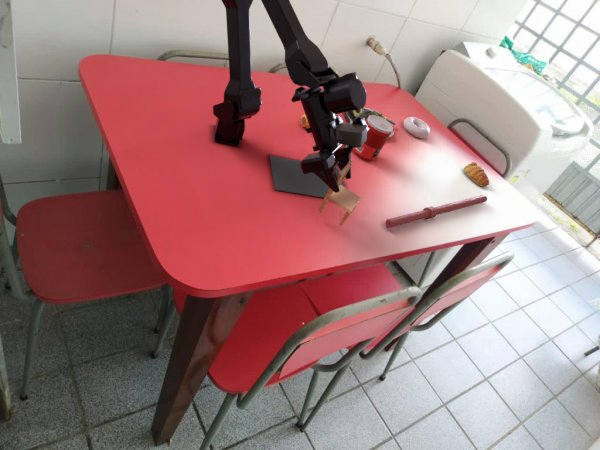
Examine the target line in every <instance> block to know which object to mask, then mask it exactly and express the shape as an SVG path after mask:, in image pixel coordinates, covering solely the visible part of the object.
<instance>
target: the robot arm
mask: <svg viewBox="0 0 600 450" xmlns="http://www.w3.org/2000/svg"><path fill="white" fill-rule="evenodd" d="M260 1H261V3H262V5H263V7H264V9H265V11H266V13H267V16H268V17H269V19H270V21H271V24H272V26H273V28H274V30H275V32H276V34H277V36H278V39H279V40H280V42H281V44H282V47H283V49H284V64H285V67H286V70H287V73H288V76H289V79H290V80H291V82H292V83H293V84H294V85H297V86H299V87H297V88H295V90H294V94H293V95H292V98H291V102H292V103H296V102H300V103H301V106H302V109H303V112H304V114H305V115H306V118H307V121H308V124H309V127H308V128H305V130H306V134H311V135H312V138H313V141H314V145H313V146H312V150H313V152H312V153H309V154H307V155H306V156H305V157H304V158H303V159H302V160H301V161H302V162H301V164H300V167H301V169H302V172H303V174H307V173H314V174H315V175H317V176H318V177H319V178H320V179H321V180H322V181H323V182H325V183H326V184H327V185H328V186H329V187H330V188H331V189H332V190H333V191H334V192H335V193H336V192H339V191H340V190H339V184H338V179H337V175H336V168H338V169H339V171H341V170H342V169H343V168H344V167H345V166H346V165H347V164H348V162H349V161H351V162H352V152H353V149H354V147H355V148H359V147H361V146H362V145H363V143H364V142H366V139H367V132H368V131H369V128H368V124H366V121H365V119H364V117H359V116H358V117H356V118H355V119H354V121H353V123H351V122H349V123H348V122H344V121H343V119H342V117H341V116H340V115H341V114H344V112H349V111H354V110H358V109H362V108H363V107H364V108H365V106H366V104H367V100H368V99H367V97H368V95H367V89H366V87H365V86H364V83H363V82H362V81H361V80H360V79H359V78H358V76H357V75H358V74H357V72H356V71H353V72H349V73H345V74H343V75H342V76H340V75H339V74H338V73H337V72H336V71H335V70H334V69H333V68H332V67H331V66H330V65H329V62H328V60H327V58H326V56H325V55H324V53H323V52H322V50H321V49H320V47H318V45H317V44H315V42H314V41H312V40H311V39H310V38H309V37H308V36H307V34H306V32H305V30H304V27H303V25H302V24H301V22H300V20H299V18H298V15H297V14H296V12H295V9H294V7H293V5H292V3H291V1H290V0H260ZM253 2H254V0H221V3H222V4H223V6H224V8H225V17H226V18H225V19H226V34H227V53H228V69H229V70H228V71H229V79H228V82H227V85H226V87H225V90H224V91H223V101H222V102H220V103H217V104H214V105H213V106H212V114H213V115H214V117H216V121H215V124H214V125H213V141H214V142H216V143H220V144H225V145H230V146H235V147H240V146H241V141H243V137H244V134H245V131H246V121H245V120H247V119H248V120H249V119H252V117H254V116H256V115H258V113H259V112H260V109H261V106H263V103H262V88H261V87H259V86H258V87H257V86H256V85H255V82H254V81H253V79H252V52H251V48H252V47H251V22H250V21H251V19H250V9H251V6H252V4H253ZM306 87H307V88H306ZM321 87H322V88H321ZM339 114H340V115H339ZM343 122H344V123H343ZM344 179H346V180H350V179H352V166H351V167H350V169H349V171H348V173H347V174H346V176H345V178H344Z"/></svg>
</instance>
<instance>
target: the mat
mask: <svg viewBox="0 0 600 450" xmlns="http://www.w3.org/2000/svg"><path fill="white" fill-rule="evenodd" d="M268 158H269V163H270V169H271V175H272V182H273V187H274V191H277V192H284V193H291V194H294V195H295V194H296V195H303V196H308V197H315V198H321V199H324V198H325V196H326V194H327V193H328V191H329V189H330V187H329V186H328V185H327V184H326V183H325V182H323V181H322V180H321V179H320V178H319V177H318V176H317V175H315V174H314V173H307V174H303V172H302V169H301V167H300V164H301V162H302V160H297V159H291V158H287V157H281V156H277V155H271V154H269V155H268ZM339 172H341V170H340V169H339V167H336V175H338V173H339ZM341 185H342V186H344V187H345V188H346V186H345V183H344V181H343V182H342V183H341Z"/></svg>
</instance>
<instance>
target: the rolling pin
mask: <svg viewBox="0 0 600 450" xmlns="http://www.w3.org/2000/svg"><path fill="white" fill-rule="evenodd" d="M487 201H488V197H487V196H486V195H485V194H481V195H478V196H473V197H470V198H466V199H461V200H459V201H454V202H449V203H446V204H443V205H438V206H428V207H424V208H423V209H422V210H419V211H414V212H411V213H406V214H402V215H399V216H395V217H391V218H387V219H386V220H385V221H384V224H385V227H386V228H387V229H392V228H396V227H400V226H403V225H406V224H407V225H408V224H410V223H415V222H417V221H420V220H424V219H425V220H431V219H434V218H436V217H437V216H439V215H442V214H446V213H450V212H453V211H458V210H461V209H464V208H468V207H471V206H475V205H476V206H477V205H479V204H482V203H483V204H484V203H486V202H487Z"/></svg>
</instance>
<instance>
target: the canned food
mask: <svg viewBox="0 0 600 450" xmlns="http://www.w3.org/2000/svg"><path fill="white" fill-rule="evenodd" d="M366 124H368V128H369V131H368V132H367V139H366V142H364V143H363V145H362V146H361V147H359V148H355V147H354V149H353V151H352V152H353V153H354V154H355V155H356V156H357V157H358V158H359V159H361V160H363V161H367V162H373V161H374V160H375V159H377V157H378V156H379V154H380V152H381V151H382V149H383V147H384V146H385V144H386V143H387V141H388V140H389V138H390V137H389V136H390V134H391V133H392V131H393V130H394V127H393V125H391V124H390V123H389V122H388V121H387V120H385V119H384V118H382V117H379V116H376V115H370V116H369V117H368V118H367V120H366ZM393 132H394V131H393Z"/></svg>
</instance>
